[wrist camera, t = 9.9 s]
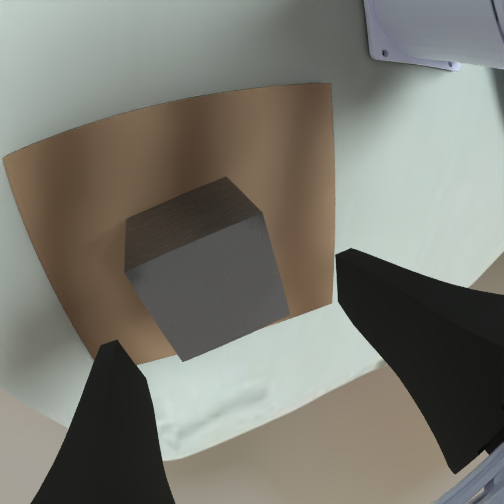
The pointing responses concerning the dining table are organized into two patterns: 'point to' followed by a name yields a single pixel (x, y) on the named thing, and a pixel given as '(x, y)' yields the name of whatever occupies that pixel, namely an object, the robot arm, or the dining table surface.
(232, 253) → the square cap
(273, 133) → the post board
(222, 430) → the dining table surface
